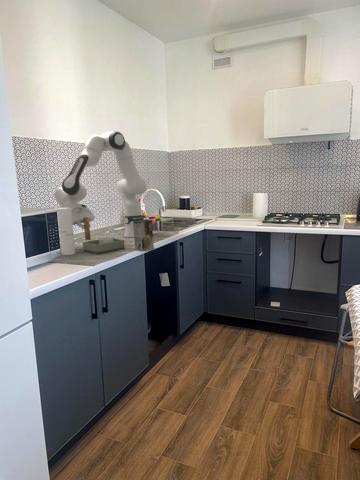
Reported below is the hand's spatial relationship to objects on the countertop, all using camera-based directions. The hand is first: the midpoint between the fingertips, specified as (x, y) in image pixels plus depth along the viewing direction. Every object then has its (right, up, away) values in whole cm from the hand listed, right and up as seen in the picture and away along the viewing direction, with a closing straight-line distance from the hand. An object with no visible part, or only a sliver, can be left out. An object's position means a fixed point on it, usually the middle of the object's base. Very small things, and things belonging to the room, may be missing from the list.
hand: (86, 227), depth 208 cm
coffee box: (+34, -13, -6) cm, 37 cm away
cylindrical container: (-7, -15, -11) cm, 20 cm away
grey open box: (+11, -13, -4) cm, 17 cm away
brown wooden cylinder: (0, -7, +1) cm, 7 cm away
